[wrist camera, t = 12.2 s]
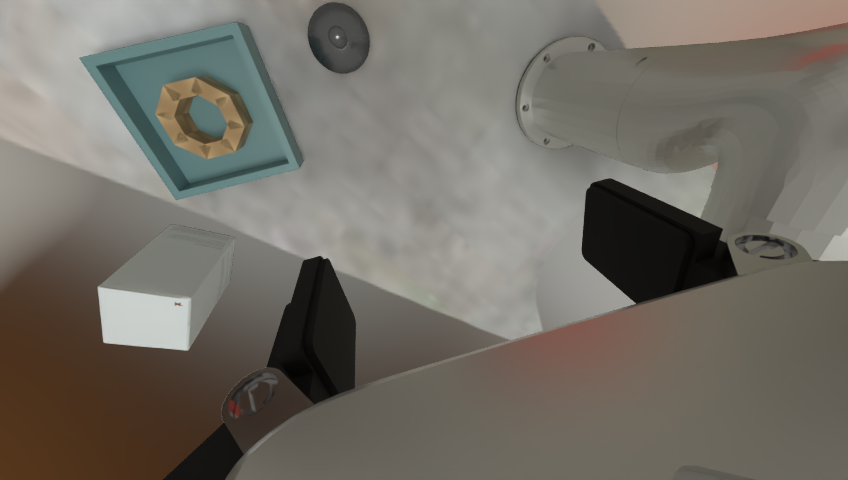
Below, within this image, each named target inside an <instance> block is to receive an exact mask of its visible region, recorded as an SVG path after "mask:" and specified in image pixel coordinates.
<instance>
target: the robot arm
mask: <svg viewBox="0 0 848 480" xmlns="http://www.w3.org/2000/svg"><path fill="white" fill-rule="evenodd" d="M544 57H545V59H544ZM543 59H544V60H543ZM523 106H524V108H523ZM522 108H523V109H522ZM516 111H517V117H518V121H519V124H520V126H521V129H522V130H523V132H524V133H525V135H526V136H527V137H528V138H529V139H530V140H531V141H532V142H534V143H536V144H538V145H540V146H542V147H545V148H551V149H558V148H564V147H568V146H571V145H573V144H575V145H577V146H580V147H583V148H586V149H588V150H591V151H594V152H597V153H599V154H602V155H605V156H608V157H611V158H613V159H616V160H619V161H622V162H625V163H627V164H630V165H633V166H636V167H639V168H642V169H645V170H647V171H651V172H656V173H666V174H668V173H682V172H687V171H691V170H696V169H699V168H702V167H705V166H708V165H711V164H714V163H716V162H718V168H717V170H716V174H715V177H714V180H713V183H712V185H711V192H710V194H709V197H708V200H707V202H706V205H705V207H704V210H703V213H702V215H701V218H698V217H696V216H694V215H691V214H689V213H687V212H685V211H682V210H680V209H678V208H676V207H674V206H671V205H669V204H667V203H665V202H662V201H660V200H658V199H656V198H654V197H651V196H649V195H647V194H645V193H642V192H640V191H638V190H636V189H633V188H631V187H629V186H627V185H625V184H622V183H620V182H618V181H616V180H613V179H610V178H609V179H605V180H601V181H597V182H594V183H592V184H591V186H590V188H588V189H587V191H586V200H585V213H584V226H583V239H582V255H583V257H584V259H585V260H586V261H588V262H589V263H590V264H591V265H592V266H593V267H594V268H596V269H597V270H598V271H599V272H600V273H601V274H603V275H604V276H605V277H606V278H607V279H608V280H609V281H611V282H612V283H613V284H614V285H615V286H616V287H618V288H619V289H620V290H621V291H622V292H623V293H625V294H626V295H627V296H628V297H629V298H630V299H632V300H633V301H634V302H635V303H636V304H634V305H631V306H627V307H624V308H621V309H617V310H613V311H610V312H606V313H603V314H600V315H596V316H593V317H589V318H586V319H583V320H579V321H576V322H572V323H569V324H565V325H562V326H558V327H555V328H552V329H548V330H544V331H541V332H538V333H534V334H531V335H527V336H524V337H521V338H517V339H514V340H510V341H507V342H504V343H500V344H497V345H494V346H490V347H487V348H484V349H480V350H477V351H474V352H470V353H467V354H463V355H460V356H457V357H454V358H450V359H447V360H443V361H440V362H437V363H433V364H430V365H427V366H424V367H420V368H417V369H413V370H410V371H407V372H403V373H400V374H397V375H394V376H390V377H387V378H384V379H381V380H378V381H375V382H372V383H369V384H366V385H363V386H360V387H357V388H355V338H356V322H355V317H354V314H353V312H352V310H351V308H350V305H349V303H348V301H347V298H346V296H345V294H344V292H343V289H342V287H341V285H340V283H339V280H338V278H337V276H336V274H335V271H334V269H333V267H332V265H331V262H330V260H329V259H328V258H327V259H323V258H322V257H321V256H318V257H315V258H311V259H307V260H304V261H303V263H302V267H301V270H300V274H299V277H298V280H297V284H296V287H295V290H294V294H293V297H292V301H291V303H289V304H288V305H286V307H285V310H284V313H283V316H282V319H281V323H280V326H279V329H278V332H277V336H276V339H275V342H274V345H273V348H272V352H271V355H270V358H269V361H268V364H267V368H263V369H259V370H257V371H255V372H252V373H251V374H249V375H247V376H246V377H245V378H243V379H242V380H241V381H240V382H238V383H237V384H236V385H235V386H234V387H233V389H232V390H231V391H230V392H229V394H228V395H227V397H226V399H225V401H224V403H223V405H222V410H221V415H222V419H223V421H224V423H223V424H222V425H221V426H220V427H219V428H218V429H217V430H216V431H215V432H214V433H213V434H212V435H210V436H209V437H208V438H207V439H206V440H205V441H204V442H203V443H202V444H201V445H200V446H199V447H198V448H196V450H194V451H193V452H192V453H191V454H190V455H189V456H188V457H187V458H186V459H185V460H184V461H183V462H181V463H180V464H179V465H178V466H177V467H176V468H175V469H174V470H173V471H172V472H171V473H170V474H169V475H167V477H166V478H164V479H163V480H848V23H843V24H838V25H833V26H828V27H823V28H819V29H814V30H809V31H803V32H797V33H791V34H785V35H779V36H773V37H767V38H758V39H749V40H740V41H730V42H721V43H707V44H692V45H680V46H664V47H649V48H635V49H618V50H606V49H605V48H604V46H603V45H601V44H600V43H599V42H598V41H596V40H594V39H591V38H589V37H582V36H576V37H568V38H564V39H560V40H558V41H556V42H554V43H552V44H550V45H549V46H548V47H546V48H545V49H543V50H542V51H541V52H540V53H539V54H538V55H537V56H536V57H535V58H534V59H533V61H532V62H531V64H530V65H529V67H528V68H527V70H526V72H525V74H524V76H523V78H522V80H521V83H520V86H519V89H518V95H517V101H516ZM544 139H545V140H544Z"/></svg>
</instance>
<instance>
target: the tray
mask: <svg viewBox="0 0 848 480" xmlns="http://www.w3.org/2000/svg"><path fill="white" fill-rule="evenodd" d="M79 59H80V60H81V61H82V63H83V64H84V66H85V67H86V69H87V70H88V72H89V73H90V75H91V76H92V78H93V79H94V81H95V82H96V83H97V85H98V86H99V88H100V89H101V91H102V92H103V94H104V95H105V97H106V98H107V100H108V101H109V103H110V104H111V105H112V107H113V108H114V110H115V111H116V113H117V114H118V116H119V117H120V119H121V120H122V122H123V123H124V125H125V126H126V127H127V129H128V130H129V132H130V133H131V135H132V136H133V138H134V139H135V141H136V142H137V144H138V145H139V147H140V148H141V149H142V151H143V152H144V154H145V155H146V157H147V158H148V160H149V161H150V163H151V164H152V166H153V167H154V169H155V170H156V171H157V173H158V174H159V176H160V177H161V179H162V180H163V182H164V183H165V185H166V186H167V188H168V189H169V191H170V192H171V193H172V195H173V196H174V198H175V199H176V200H179V199H183V198H187V197H190V196H194V195H198V194H202V193H206V192H210V191H214V190H218V189H222V188H225V187H229V186H233V185H237V184H241V183H245V182H249V181H253V180H257V179H261V178H264V177H268V176H272V175H276V174H280V173H284V172H288V171H292V170H296V169H299V168H300V167H301V165H302V163H303V161H304V160H303V157H302V155H301V153H300V150H299V148H298V145H297V143H296V141H295V138H294V136H293V133H292V131H291V129H290V126H289V124H288V121H287V119H286V116H285V114H284V112H283V109H282V107H281V104H280V102H279V100H278V97H277V95H276V92H275V90H274V88H273V85H272V83H271V80H270V78H269V76H268V73H267V71H266V68H265V66H264V63H263V61H262V59H261V56H260V54H259V51H258V49H257V47H256V44H255V42H254V39H253V37H252V35H251V32H250V30H249V27H248V26H246V25H244V24H241V23H238V22H234V23H230V24H225V25H221V26H217V27H212V28H208V29H203V30H199V31H195V32H190V33H186V34H181V35H177V36H173V37H168V38H164V39H159V40H155V41H151V42H146V43H142V44H137V45H133V46H129V47H124V48H120V49H115V50H111V51H106V52H102V53H98V54H93V55H89V56H84V57H80V58H79ZM206 76H209V77H211V78H213V79H215V80H216V81H218V82H220V83H222V84H224V85H225V86H227V87H229V88H231V89H233V90H234V91H236V92H238V93H240V95H241V97H242V99H243V101H244V104H245V106H246V108H247V110H248V112H249V114H250V116H251V118H252V120H253V124H252V127H251V129H250V132H249V135H248V137H247V140H246V142H245V145H244V146H243V147H242V148H240V149H239V150H237V151H236V152H233V153H229V154H226V155H222V156H218V157H214V158H210V159H205V158H203V157H201V156H199V155H196V154H194V153H192V152H190V151H188V150H185V149H183V148H181V147H179V146H176V145H174V143H173V141H172V140H171V138H170V137H169V135H168V133H167V132H166V130H165V129H164V127H163V126H162V124H161V122H160V121H159V119H158V118H157V116H156V114H155V113H156V110H157V106H158V102H159V99H160V95H161V91H162V88H163V85H165V84H169V83H173V82H177V81H182V80H186V79H190V78H194V77H206ZM189 114H190V116H191V117H192V119H193V121H194V123H195V124H196V126H197V128H198V130H200V131H202V132H204V133H206V134H209V135H211V136H213V137H215V138H220V137H223V136H224V133H225V130H226V128H227V125H228V124H227V122H226V120H225V118H224V116H223V114H222V113H221V111H220V109H219V107H218V106H217V105H216V104H214V103H212V102H210V101H208V100H206V99H204V98H202V97H200V96H196V97H194V98H193V101H192V104H191V107H190V111H189Z"/></svg>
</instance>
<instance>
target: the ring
mask: <svg viewBox="0 0 848 480" xmlns="http://www.w3.org/2000/svg"><path fill="white" fill-rule="evenodd" d="M196 96H200V97H202V98H204V99H206V100H208V101H210V102H212V103H214V104H216V105H217V106H218V107H219V109H220V111H221V113H222V114H223V116H224V118H225V120H226V122H227V124H228V125H227V128H226V130H225V133H224V136H223V137H220V138H215V137H213V136H211V135H209V134H206V133H204V132H202V131H200V130H198V128H197V126H196V124H195V123H194V121H193V119H192V117H191V116H190V114H189V111H190V107H191V104H192V101H193V98H194V97H196ZM155 114H156V116H157V118H158V119H159V121H160V122H161V124H162V126H163V127H164V129H165V130H166V132H167V133H168V135H169V137H170V138H171V140H172V141H173V143H174V145H176V146H179V147H181V148H183V149H185V150H188V151H190V152H192V153H194V154H196V155H199V156H201V157H203V158H205V159H210V158H214V157H218V156H222V155H226V154H229V153H233V152H236V151H237V150H239V149H240V148H242V147H243V146H244V145H245V142H246V140H247V137H248V135H249V132H250V129H251V127H252V124H253V120H252V118H251V116H250V114H249V112H248V110H247V108H246V106H245V104H244V101H243V99H242V97H241V95H240V93H238V92H236V91H234V90H233V89H231V88H229V87H227V86H225V85H224V84H222V83H220V82H218V81H216V80H215V79H213V78H211V77H209V76H206V77H194V78H190V79H186V80H182V81H177V82H173V83H169V84H165V85H163V88H162V91H161V95H160V99H159V102H158V106H157V110H156V113H155Z"/></svg>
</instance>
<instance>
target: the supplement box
mask: <svg viewBox="0 0 848 480" xmlns="http://www.w3.org/2000/svg"><path fill="white" fill-rule="evenodd" d="M234 246H235V237H233V236H228V235H223V234H219V233H214V232H210V231H204V230H200V229H195V228H190V227H185V226H180V225H175V224H171V225H169V226H168V227H167V228H166V229H165V230H164V231H162V232H161V233H160V234H159V235H158V236H157V237H155V238H154V239H153V240H152V241H151V242H150V243H148V244H147V245H146V246H145V247H144V248H143V249H141V250H140V251H139V252H138V253H137V254H136V255H135V256H134V257H132V258H131V259H130V260H129V261H128V262H127V263H125V264H124V265H123V266H122V267H121V268H119V269H118V270H117V271H116V272H115V273H114V274H113V275H111V276H110V277H109V278H108V279H107V280H106V281H104V282H103V283H102V284H101V285H100V286H98V295H99V304H100V313H101V322H102V333H103V342H104V343H111V344H121V345H122V344H123V345H133V346H143V347H155V348H168V349H177V350H186V351H187V350H188V349H189V348H190V346H191V345H192V343H193V342H194V340H195V338H196V337H197V335H198V333H199V332H200V330H201V328H202V326H203V325H204V323H205V321H206V320H207V318H208V316H209V315H210V313H211V311H212V310H213V308H214V306H215V304H216V303H217V301H218V299H219V298H220V296H221V294H222V292H223V291H224V289H225V288H226V286H227V284H228V283H229V281H230V279H231V273H232V263H233V256H234Z"/></svg>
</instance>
